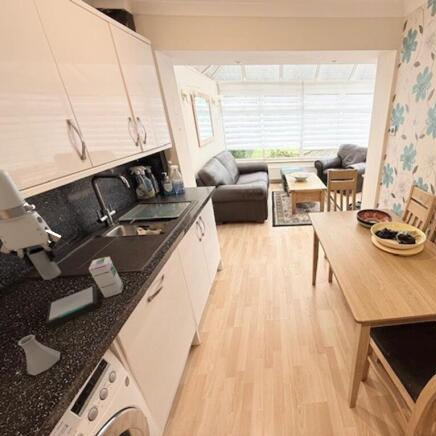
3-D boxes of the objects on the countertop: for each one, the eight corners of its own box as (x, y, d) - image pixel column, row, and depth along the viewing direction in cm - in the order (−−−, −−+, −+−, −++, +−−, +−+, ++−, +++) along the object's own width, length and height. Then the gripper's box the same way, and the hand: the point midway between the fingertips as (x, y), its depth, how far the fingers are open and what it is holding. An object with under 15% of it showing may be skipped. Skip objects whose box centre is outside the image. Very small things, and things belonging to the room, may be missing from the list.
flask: (24, 367, 68) (4, 343, 64) (57, 347, 73) (40, 324, 69) (31, 381, 64) (10, 357, 60) (64, 358, 70) (47, 335, 65)
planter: (44, 275, 81) (27, 250, 77) (61, 269, 84) (46, 245, 79) (43, 282, 78) (25, 256, 74) (60, 275, 81) (45, 250, 76)
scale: (49, 328, 80) (44, 322, 79) (52, 308, 89) (48, 302, 87) (99, 306, 88) (96, 300, 87) (97, 290, 96) (94, 284, 95)
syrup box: (122, 292, 94) (107, 262, 88) (104, 298, 92) (87, 268, 86) (123, 284, 99) (109, 255, 93) (106, 289, 96) (91, 260, 90)
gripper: (52, 202, 77) (78, 249, 85) (-20, 215, 71) (15, 265, 78) (43, 209, 71) (72, 259, 79) (-37, 224, 64) (3, 277, 72)
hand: (43, 261), depth 79 cm, fingers closed on planter, 4 cm apart
